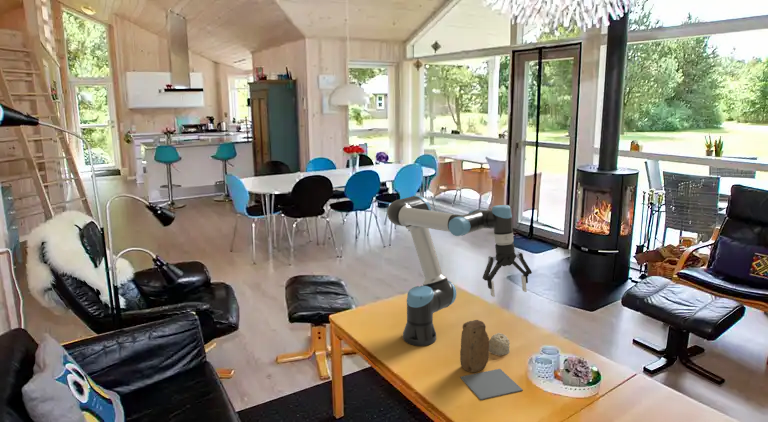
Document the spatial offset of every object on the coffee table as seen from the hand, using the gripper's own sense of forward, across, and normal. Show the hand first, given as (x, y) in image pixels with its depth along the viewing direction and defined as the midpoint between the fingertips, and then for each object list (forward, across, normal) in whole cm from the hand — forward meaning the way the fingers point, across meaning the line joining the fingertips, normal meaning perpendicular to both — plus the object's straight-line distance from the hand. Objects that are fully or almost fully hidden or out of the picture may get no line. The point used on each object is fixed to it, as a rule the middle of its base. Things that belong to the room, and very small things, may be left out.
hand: (508, 293), depth 218 cm
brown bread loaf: (+28, -18, -4) cm, 34 cm away
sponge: (+28, -4, +9) cm, 29 cm away
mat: (+29, -16, -16) cm, 37 cm away
